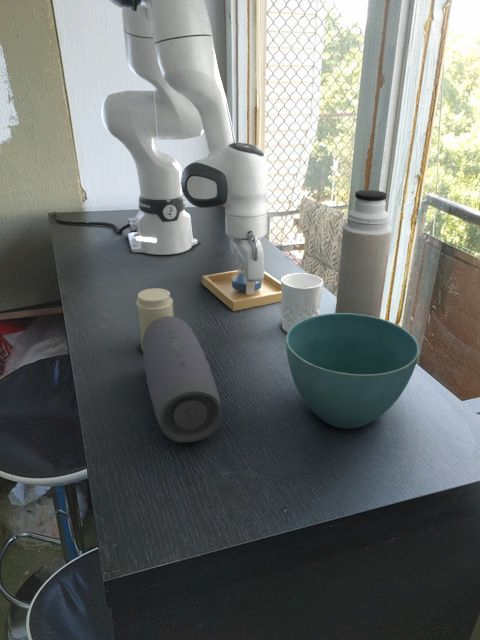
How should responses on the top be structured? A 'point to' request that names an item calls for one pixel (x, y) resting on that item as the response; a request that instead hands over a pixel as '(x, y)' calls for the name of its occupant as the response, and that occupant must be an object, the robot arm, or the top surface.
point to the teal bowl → (350, 366)
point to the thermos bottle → (364, 255)
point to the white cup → (299, 298)
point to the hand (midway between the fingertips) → (246, 286)
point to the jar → (152, 308)
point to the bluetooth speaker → (180, 381)
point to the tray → (239, 299)
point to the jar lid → (242, 283)
